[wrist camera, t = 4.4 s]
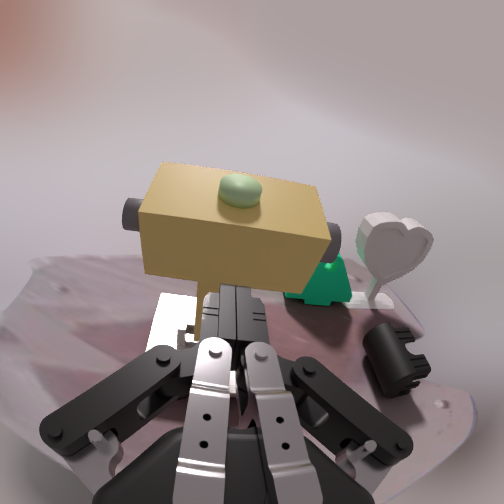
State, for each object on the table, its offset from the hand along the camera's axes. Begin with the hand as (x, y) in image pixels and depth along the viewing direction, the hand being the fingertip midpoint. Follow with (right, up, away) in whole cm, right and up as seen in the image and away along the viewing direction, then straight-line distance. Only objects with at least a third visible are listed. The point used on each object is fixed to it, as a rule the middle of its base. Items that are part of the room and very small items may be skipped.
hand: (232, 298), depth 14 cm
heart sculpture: (+24, -7, +38) cm, 46 cm away
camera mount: (+12, -5, +37) cm, 40 cm away
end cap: (+21, -16, +23) cm, 35 cm away
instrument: (-4, -7, +19) cm, 20 cm away
